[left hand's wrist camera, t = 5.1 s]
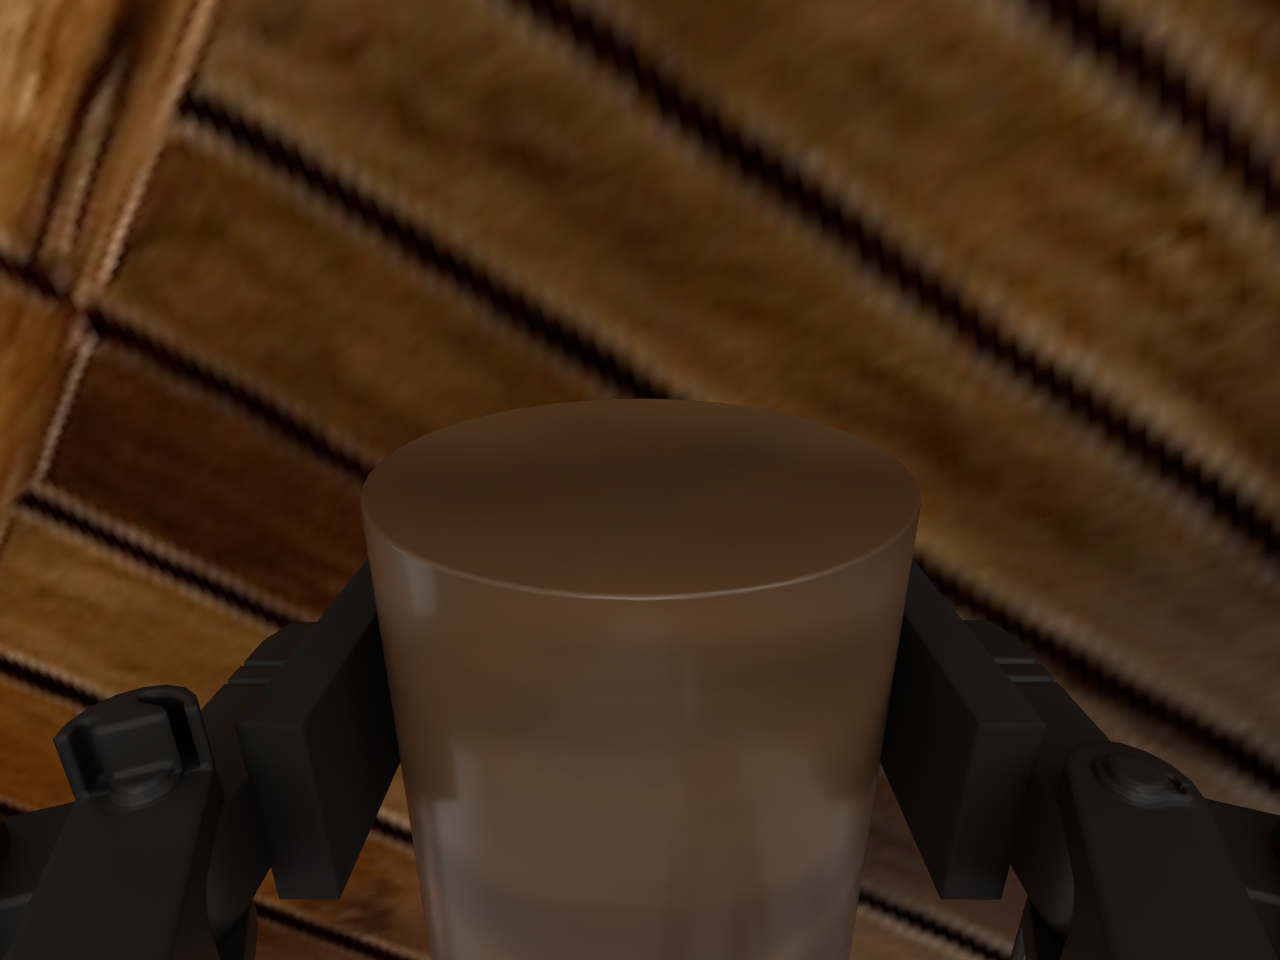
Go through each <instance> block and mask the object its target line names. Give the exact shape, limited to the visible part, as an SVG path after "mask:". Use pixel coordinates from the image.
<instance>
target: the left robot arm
mask: <svg viewBox="0 0 1280 960" xmlns="http://www.w3.org/2000/svg"><path fill="white" fill-rule="evenodd" d="M53 742H54V744H55V747H56V749H57V752H58V755H59V757H60V760H61V763H62V765H63V768H64V771H65V773H66V776H67V778H68V781H69V784H70V786H71V789H72V792H73V794H74V797H75V799H76V800H75V802H71V803H67V804H63V805H59V806H54V807H50V808H45V809H41V810H36V811H32V812H28V813H23V814H19V815H14V816H10V817H5V818H2V816H1V813H0V960H255V952H256V943H257V934H258V926H259V925H258V919H257V912H256V907H255V904H254V900H253V897H254V895H255V894H256V892H257V890H258V888H259V887H260V885H261V883H262V881H263V880H264V878H265V876H266V874H267V873H268V871H269V869H270V867H271V868H272V872H273V876H274V880H275V884H276V888H277V891H278V895H279V899H340V897H341V895H342V893H343V890H344V888H345V886H346V883H347V881H348V879H349V877H350V874H351V872H352V870H353V868H354V865H355V863H356V861H357V859H358V856H359V854H360V852H361V850H362V847H363V845H364V843H365V841H366V838H367V836H368V834H369V831H370V829H371V827H372V825H373V822H374V820H375V818H376V816H377V813H378V811H379V809H380V807H381V804H382V802H383V800H384V798H385V795H386V793H387V791H388V789H389V786H390V784H391V782H392V780H393V777H394V775H395V773H396V770H397V768H398V766H399V764H400V755H399V749H398V742H397V736H396V730H395V723H394V717H393V711H392V704H391V698H390V691H389V685H388V679H387V672H386V666H385V660H384V653H383V647H382V640H381V634H380V628H379V621H378V615H377V609H376V602H375V596H374V589H373V583H372V577H371V570H370V564H369V558H368V559H367V560H366V562H365V563H364V564H363V565H362V567H361V568H360V569H359V570H358V572H357V573H356V574H355V575H354V577H353V578H352V579H351V580H350V582H349V583H348V584H347V585H346V587H345V588H344V589H343V590H342V591H341V593H340V594H339V595H338V596H337V598H336V599H335V600H334V601H333V603H332V604H331V605H330V606H329V608H328V609H327V610H326V611H325V613H324V614H323V615H322V616H321V618H320V619H319V620H318V621H317V622H292V623H291V624H289V625H288V626H286V627H284V628H283V629H281V630H280V631H278V632H276V633H275V634H273V635H272V636H270V637H268V638H267V639H265V640H264V641H263V642H262V643H261V644H260V645H259V646H258V647H257V648H256V649H255V651H254V652H253V653H252V654H251V655H250V656H249V657H248V658H247V659H246V661H245V662H244V666H240V667H239V668H238V670H237V671H236V672H235V673H234V674H233V675H232V676H231V677H230V678H229V680H228V684H224V685H223V686H222V687H221V688H220V690H219V691H218V692H217V693H216V694H215V695H214V696H213V697H212V699H211V700H210V701H209V702H208V703H207V704H206V705H205V706H204V707H203V709H202V710H200V707H199V703H198V699H197V696H196V695H195V694H194V693H192V692H191V691H190V690H188V689H187V688H186V687H179V686H172V685H160V686H151V687H142V688H139V689H135V690H132V691H129V692H125V693H122V694H118V695H115V696H113V697H111V698H109V699H106V700H104V701H102V702H100V703H98V704H96V705H94V706H91V707H89V708H88V709H86V710H85V711H83V712H82V713H81V714H79V715H78V716H76V717H75V718H73V719H72V720H71V721H69V722H68V723H67V724H66V725H65V726H64V727H63V728H62V729H61V731H60V732H59V733H58V734H57V735H56V736H55V738H54V739H53ZM880 763H881V765H882V767H883V769H884V772H885V774H886V776H887V778H888V781H889V783H890V785H891V788H892V790H893V792H894V794H895V797H896V799H897V801H898V803H899V806H900V808H901V810H902V812H903V815H904V817H905V819H906V821H907V824H908V826H909V828H910V830H911V833H912V835H913V837H914V839H915V842H916V844H917V846H918V849H919V851H920V853H921V855H922V858H923V860H924V862H925V864H926V867H927V869H928V871H929V873H930V876H931V878H932V880H933V882H934V885H935V887H936V889H937V891H938V894H939V896H940V898H941V899H1001V897H1002V893H1003V890H1004V886H1005V882H1006V878H1007V874H1008V870H1009V867H1010V865H1011V866H1012V868H1013V870H1014V872H1015V873H1016V875H1017V877H1018V879H1019V880H1020V882H1021V884H1022V886H1023V887H1024V889H1025V891H1026V893H1027V894H1028V897H1027V900H1026V904H1025V907H1024V911H1023V915H1022V918H1021V922H1020V925H1019V929H1018V932H1017V936H1016V940H1015V943H1014V947H1013V950H1012V955H1011V960H1023V958H1024V955H1025V958H1026V960H1280V815H1275V814H1271V813H1266V812H1262V811H1257V810H1253V809H1249V808H1244V807H1240V806H1235V805H1231V804H1226V803H1222V802H1217V801H1213V800H1209V799H1206V798H1203V796H1202V795H1201V793H1200V792H1199V791H1198V789H1197V788H1196V787H1195V785H1194V784H1193V782H1192V781H1191V780H1189V779H1188V778H1187V777H1186V776H1184V775H1183V774H1182V773H1181V772H1179V771H1178V770H1177V769H1176V768H1174V767H1173V766H1172V765H1170V764H1169V763H1167V762H1165V761H1163V760H1161V759H1159V758H1157V757H1155V756H1154V755H1152V754H1150V753H1148V752H1146V751H1143V750H1140V749H1137V748H1134V747H1131V746H1128V745H1125V744H1122V743H1116V742H1111V741H1110V740H1109V739H1108V738H1107V737H1106V736H1105V735H1104V734H1103V732H1102V731H1101V730H1100V729H1099V728H1098V727H1097V726H1096V725H1095V724H1094V722H1093V721H1092V720H1091V719H1090V718H1089V717H1088V716H1087V715H1086V714H1085V712H1084V711H1083V710H1082V709H1081V708H1080V707H1079V706H1078V705H1077V704H1076V702H1075V701H1074V700H1073V699H1072V698H1071V697H1070V696H1069V695H1068V694H1067V693H1066V691H1065V690H1064V689H1063V688H1062V687H1061V686H1060V685H1059V684H1058V683H1057V682H1053V677H1052V676H1051V675H1050V674H1049V673H1048V671H1047V670H1046V669H1045V668H1044V667H1043V666H1042V665H1041V664H1037V659H1036V658H1035V657H1034V656H1033V655H1032V654H1031V653H1030V652H1029V650H1028V649H1027V648H1026V647H1025V646H1024V645H1023V644H1022V643H1021V642H1020V640H1019V639H1018V638H1016V637H1015V636H1013V635H1011V634H1010V633H1008V632H1007V631H1005V630H1003V629H1002V628H1000V627H999V626H997V625H995V624H994V623H992V622H991V621H989V620H962V619H961V618H960V617H959V616H958V614H957V613H956V612H955V611H954V610H953V608H952V607H951V606H950V605H949V603H948V602H947V601H946V600H945V598H944V597H943V596H942V595H941V593H940V592H939V591H938V590H937V588H936V587H935V586H934V585H933V583H932V582H931V581H930V580H929V578H928V577H927V576H926V575H925V573H924V572H923V571H922V570H921V568H920V567H919V566H918V565H917V564H916V562H915V561H914V560H913V559H912V563H911V569H910V575H909V582H908V588H907V594H906V601H905V607H904V613H903V620H902V626H901V632H900V639H899V645H898V652H897V658H896V664H895V671H894V677H893V683H892V690H891V696H890V702H889V709H888V715H887V721H886V728H885V734H884V740H883V747H882V753H881V759H880Z"/></svg>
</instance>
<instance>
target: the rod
mask: <svg viewBox="0 0 1280 960" xmlns="http://www.w3.org/2000/svg"><path fill="white" fill-rule="evenodd" d="M920 506H921V503H920V494H919V488H918V486H917V484H916V482H915V480H914V478H913V476H912V474H911V473H910V472H909V471H908V470H907V469H906V468H905V466H904V465H903V464H902V463H901V462H900V461H898V460H897V459H896V458H895V457H893V456H892V455H891V454H889V453H888V452H887V451H885V450H883V449H882V448H880V447H878V446H876V445H875V444H873V443H871V442H869V441H867V440H865V439H863V438H861V437H858V436H856V435H854V434H852V433H849V432H846V431H844V430H841V429H838V428H836V427H833V426H830V425H827V424H823V423H820V422H817V421H814V420H810V419H806V418H802V417H798V416H794V415H790V414H786V413H781V412H776V411H771V410H765V409H760V408H753V407H747V406H740V405H732V404H723V403H715V402H703V401H690V400H670V399H611V400H590V401H578V402H565V403H557V404H548V405H540V406H534V407H527V408H521V409H515V410H510V411H505V412H500V413H495V414H490V415H486V416H482V417H478V418H474V419H470V420H467V421H464V422H460V423H457V424H454V425H450V426H448V427H445V428H442V429H440V430H437V431H434V432H431V433H429V434H426V435H424V436H422V437H420V438H418V439H416V440H414V441H411V442H409V443H408V444H406V445H404V446H402V447H401V448H399V449H397V450H396V451H394V452H392V453H391V454H390V455H389V456H387V457H386V458H385V459H384V460H382V461H381V462H380V463H379V464H378V465H377V466H376V467H375V468H374V469H373V471H372V472H371V473H370V474H369V475H368V477H367V480H366V482H365V484H364V486H363V488H362V492H361V501H360V507H361V513H362V519H363V526H364V532H365V538H366V545H367V551H368V558H369V564H370V570H371V577H372V583H373V589H374V596H375V602H376V609H377V615H378V621H379V628H380V634H381V640H382V647H383V653H384V660H385V666H386V672H387V679H388V685H389V691H390V698H391V704H392V711H393V717H394V723H395V730H396V736H397V742H398V749H399V755H400V762H401V768H402V774H403V781H404V787H405V793H406V800H407V806H408V813H409V819H410V825H411V832H412V838H413V844H414V851H415V857H416V864H417V870H418V876H419V883H420V889H421V895H422V902H423V908H424V915H425V921H426V927H427V934H428V940H429V946H430V953H431V959H432V960H849V956H850V950H851V943H852V937H853V931H854V924H855V918H856V912H857V905H858V899H859V893H860V886H861V880H862V874H863V867H864V861H865V854H866V848H867V842H868V835H869V829H870V823H871V816H872V810H873V804H874V797H875V791H876V785H877V778H878V772H879V766H880V759H881V753H882V747H883V740H884V734H885V728H886V721H887V715H888V709H889V702H890V696H891V690H892V683H893V677H894V671H895V664H896V658H897V652H898V645H899V639H900V632H901V626H902V620H903V613H904V607H905V601H906V594H907V588H908V582H909V575H910V569H911V563H912V556H913V550H914V544H915V537H916V531H917V525H918V518H919V512H920Z"/></svg>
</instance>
